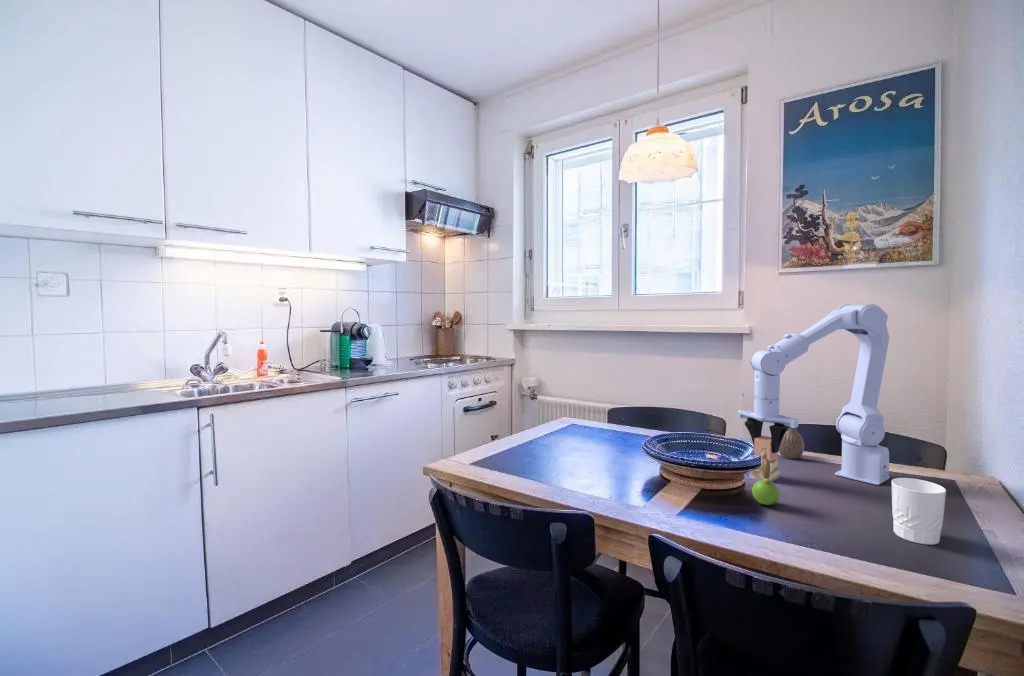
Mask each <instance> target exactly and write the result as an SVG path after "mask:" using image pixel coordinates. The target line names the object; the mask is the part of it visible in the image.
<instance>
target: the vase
mask: <svg viewBox="0 0 1024 676" xmlns="http://www.w3.org/2000/svg"><path fill="white" fill-rule="evenodd" d="M804 451H805V441H804V439H803V436H802V435H801V434H800V433H799V432H798V430H797V427H796V428H791V427H789V428H788V430H787V431H786V433H785V435H784V437H783V439H782V441H781V444H780V447H779V451H778V454H780V455H781V456H782V457H783V458H785V459H790V460H797V459H800V458H801V457H802V455H803V454H804Z"/></svg>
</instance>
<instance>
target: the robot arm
mask: <svg viewBox="0 0 1024 676" xmlns="http://www.w3.org/2000/svg"><path fill="white" fill-rule="evenodd" d="M888 317H889V315H888V314H887V313H886V312H885V310H884V309H883V308H882V307H880V306H879V305H877V304H875V303H874V304H873V303H869V304H847V303H846V304H842V305H841V306H839V307H838V308H835V309H833V310H832V311H830V313H828V314H827V315H826V316H825V317H822V318H821V319H820V320H819V321H817V322H816V323H814V324H813V325H811V326H810V327H808V328H807V329H806V330H804V331H802V332H801V333H799V334H798V333H794V332H793V333H786V334H784V335H783V336H782V337H783V338H782V339H781V340H779V341H778V342H777V341H776V343H774V344H769V345H768V346H766V350H761V349H760V350H759V351H756V352H755V353H754V354H753V356H752V357H751V360H749V365H750V367H751V368H752V370H753V371H754V381H753V383H754V385H753V386H754V387H753V389H754V391H753V392H754V393H753V395H754V397H753V399H754V400H753V410H746V409H739V410H737V412H736V417H737V419H746V421H744V425H745V427H746V428H747V430H748V433H749V435H750V437H751V442H752V444H753V445H752V446H754V438H756V437H759V436H762V430H763V425H764V423H767V424H768V423H769V424H772V425H769V432H770V437H771V439H772V444H771V448H772V453H776V452H778V453H779V447H780V444H781V441H782V439H783V437H784V435H785V433H786V431H787V430H788V428H789V427H791V428H796V429H797V428H798V427H799V419H798V418H793V417H791V416H790V417H789V416H785V415H781V414H780V397H781V396H780V388H781V387H780V386H781V383H780V382H781V381H780V380H781V379H780V378H781V373H783V371H784V370H785V368H786V366H787V365H788V364H789V363H791V362H793V361H795V360H796V359H798V358H800V357H801V356H802V355H805V354H807V353H808V351H809V348H810V345H812V344H814V343H815V342H817V341H819V340H821V339H824V338H825V337H827V336H828V335H830V334H832V333H834V332H836V331H839V330H845V331H847V332H849V333H851V334H852V335H854V337H855V338H856V339H857V340H858V341H859V342H860V347H859V353H858V358H857V363H856V368H855V369H856V370H855V375H854V379H853V385H852V389H851V396H850V402H849V403H847V404H845V405H844V406H842V410H841V413H840V415H839V416H838V417H837V419H836V422H835V427H836V431H837V432H838V433H840V438H841V439H842V440H841V469H839V470H837V471H836V472H834V475H835V476H839V477H842V478H846V479H851V480H854V481H860V482H864V483H867V484H872V485H875V486H879V485H881V484H882V483H884V482H886V481H888V480H889V479H890V478H891V477H890V476H889V473H890V450H889V448H888V447H885V446H882V445H880V443H881V442H882V441H883V440H884V438H885V434H886V430H885V426H884V419H885V417H884V416H883V414H882V412H881V411H880V410H879V409H878V401H879V396H880V391H881V386H882V379H883V375H884V371H885V370H884V369H885V365H886V358H887V355H888V350H889V343H890V335H889V331H888V326H887V322H888Z"/></svg>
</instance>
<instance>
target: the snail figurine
mask: <svg viewBox="0 0 1024 676" xmlns="http://www.w3.org/2000/svg"><path fill="white" fill-rule="evenodd" d="M761 449H763V447H761ZM764 449H765V450H766V449H767V448H766V447H764ZM761 471H762V478H763V480H759V479H758V480H756V481H755V483H754V484H753V486H752V488H751V490H752V491H751V492H752V496H753V498H754V499H755V500H756V501H757V502H758V503H759V504H761V505H765V506H771V505H774V504H776V503H777V502H778V500H779V499H780V490H779V487H778V485H776V483H774V482H773V481H772V482H771V481H770V479H769V477H770V462H769V460H768V459H767V454H766V453H765V452H763V453H761Z"/></svg>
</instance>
